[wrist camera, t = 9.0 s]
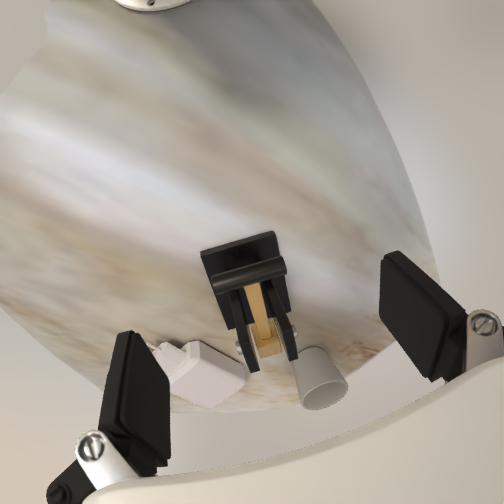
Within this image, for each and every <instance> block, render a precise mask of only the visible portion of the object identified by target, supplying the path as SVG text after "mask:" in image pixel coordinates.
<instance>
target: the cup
mask: <svg viewBox="0 0 504 504" xmlns="http://www.w3.org/2000/svg"><path fill="white" fill-rule="evenodd" d="M293 367H294V372H295V378H296V383H297V387H298V392H299V396H300V400H301V405H302V406H303V407H304V408H306V409H309V410H319V409H323V408H326V407H329V406H331V405H333V404H335V403H336V402H338V401H339V400H340V399H341V398H343V397H344V395H345V394H346V392H347V391H348V384H347V382H346V381H345V379H344V378H343V376H342V375H341V373H340V372H339V370H338V369H337V368H336V366H335V365H334V363H333V362H332V361H331V359H330V358H329V357H328V356H327V354H326V353H325V352H324V350H323V349H321V348H319V347H310V348H307V349H305V350H303V351H301V352H300V353H298V359H296V360H293Z"/></svg>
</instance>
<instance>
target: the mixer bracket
mask: <svg viewBox="0 0 504 504" xmlns="http://www.w3.org/2000/svg"><path fill="white" fill-rule="evenodd" d="M200 255H201V259H202V262H203V264H204V267H205V270H206V273H207V275H208V278H209V281H210V283H211V286H212V289H213V285H212V281H211V276H213V275H217V274H220V273H224V272H227V271H230V270H234V269H237V268H241V267H244V266H248V265H251V264H254V263H258V262H261V261H265V260H268V259H271V258H275V257H278V256H280V253H279V249H278V244H277V239H276V235H275V233H274V231H269V232H266V233H262V234H259V235H255V236H252V237H248V238H245V239H242V240H238V241H235V242H231V243H228V244H224V245H221V246H218V247H214V248H211V249H207V250H204V251H201V252H200ZM259 283H260V287H261V292H262V296H263V300H264V304H265V309H266V313H267V317H268V318H271V317H273V319H274V322H275V325H276V328H277V330H278V333H279V336H280V338H281V341H282V344H283V346H284V349H285V352H286V354H287V357H288V360H289V361H293V360H296V359H298V353H297V348H296V342H295V338H298V335H297V331H296V328H295V326H294V325H291V324H290V321H289V319H288V317H287V314H286V313H288V312H291V307H290V302H289V297H288V292H287V287H286V282H285V277H284V275H282V276H279V277H275V278H272V279H269V280H266V281H262V282H259ZM213 291H214V289H213ZM214 294H215V297H216V299H217V302H218V305H219V307H220V310H221V312H222V315H223V318H224V320H225V323H226V325H227V328H228V330H230V329H234V328H236V331H237V336H238V341H237V342H236V347H237V350H238V353H239V355H242V354H243V355H244V358H245V360H246V363H247V366H248V368H249V371H250V373H253V372H257V371H260V368H259V364H258V361H257V357H256V353H255V349H254V345H253V342H252V338H251V334H250V330H249V326H248V324H251V323H255V320H254V317H253V314H252V311H251V308H250V305H249V302H248V298H247V295H246V292H245V289H244V287H242V288H238V289H235V290H232V291H228V292H225V293H221V294H218V295H216V293H215V291H214Z"/></svg>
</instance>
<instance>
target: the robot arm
mask: <svg viewBox="0 0 504 504" xmlns="http://www.w3.org/2000/svg"><path fill="white" fill-rule="evenodd" d="M115 1H116V2H117V3H119V4H120V5H122V6H124V7H126V8H129V9H132V10H139V11H158V10H166V9H169V8H173V7H177V6H179V5H182V4H184V3H187V2H189V1H190V0H115ZM151 4H154V5H152V6H150V5H151ZM379 316H380V318H381V320H382V322H383V323H384V324H385V326H386V327H387V328H388V330H389V331H390V332H391V333H392V335H393V336H394V337H395V339H396V340H397V341H398V343H399V344H400V346H401V347H402V348H403V350H404V351H405V352H406V354H407V355H408V356H409V357H410V359H411V361H412V362H413V363H414V365H415V366H416V367H417V369H418V370H419V372H420V373H421V374H422V376H423V377H425V378H426V377H428V378H429V380H430V381H431V382H433V381H435V380H437V379H439V378H440V377H443V379H444V380H445V385H443V386H441V387H440V388H438V389H436V390H434V391H433V392H431V393H429V394H427V395H425V396H423V397H422V398H420V399H418V400H416V401H414V402H413V403H411V404H409V405H407V406H405V407H403V408H401V409H399V410H397V411H395V412H393V413H391V414H389V415H386V416H384V417H382V418H380V419H378V420H375V421H373V422H371V423H369V424H366V425H364V426H362V427H359V428H357V429H354V430H352V431H349V432H347V433H344V434H342V435H339V436H337V437H334V438H331V439H328V440H325V441H323V442H320V443H317V444H314V445H311V446H308V447H304V448H301V449H298V450H295V451H291V452H288V453H284V454H281V455H277V456H273V457H270V458H265V459H262V460H257V461H253V462H248V463H244V464H239V465H234V466H229V467H223V468H217V469H211V470H205V471H198V472H191V473H183V474H175V475H164V476H158V475H157V474H156V473H157V467H167V466H168V463H167V459H170V458H171V442H170V382H169V379H168V376H167V375H166V373H165V372H164V371H163V369H162V368H161V366H160V365H159V363H158V362H157V360H156V359H155V357H154V356H153V354H152V353H151V351H150V350H149V348H148V347H147V345H146V343H145V342H144V340H143V339H142V337H141V335H140V334H139V333H135V332H134V331H133V330H130V331H126V332H122V333H119V334H118V335H117V338H116V342H115V346H114V351H113V355H112V360H111V364H110V369H109V372H108V375H107V379H106V384H105V390H104V395H103V401H102V407H101V413H100V419H99V425H98V430H91V431H87V432H85V433H84V434H82V435H81V436H80V437H79V439H78V441H77V442H76V446H75V455H76V457H77V459H76V460H75V461H74V462H73V463H72V464H71V465H70V466H69V467H68V468H67V469H66V470H65V471H64V472H62V473H61V474H60V475H59V476H58V477H57V478H56V479H55V480H54V481H53V482H52V483H51V484H50V485H49V487H48V489H47V494H46V497H47V502H48V504H504V326H502V325H501V322H500V319H499V318H498V317H497V316H496V315H495V314H494V313H493V312H490V311H488V310H484V309H482V310H475V311H473V312H472V313H470V314H469V315H468V314H467V313H466V312H465V309H463V308H462V307H461V306H460V305H459V304H458V303H457V302H456V301H455V300H454V299H453V298H452V297H451V296H450V295H449V294H448V293H447V292H446V291H444V290H443V289H442V288H441V287H440V286H439V285H438V284H437V283H436V282H435V281H434V280H433V279H431V278H430V277H429V276H428V275H427V274H426V273H425V272H424V271H422V270H421V269H420V268H419V267H418V266H417V265H416V264H414V263H413V262H412V261H411V260H410V259H409V258H407V257H406V256H405V255H404V254H403V253H401V252H400V251H398V250H397V251H394V252H391V253H388V254H386V255H384V259H383V260H381V270H380V299H379Z"/></svg>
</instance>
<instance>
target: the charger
mask: <svg viewBox="0 0 504 504" xmlns="http://www.w3.org/2000/svg"><path fill="white" fill-rule="evenodd" d="M146 345H147V346H149V347H151V348H152V349H154V351H153V352H152V354H153V356H154V357H155V359H156V360H157V362H158V363H159V365H160V366H161V368H162V369H163V371H164V372H165V373H166V375H167V376H168V379H169V382H170V393H172V394H174V395H176V396H178V397H181V398H183V399H185V400H188V401H190V402H192V403H195V404H197V405H200V406H202V407H205V408H207V409H211V408H213V407H215V406H216V405H218V404H219V403H221V402H222V401H224V400H225V399H227V398H228V397H230V396H231V395H233V394H234V393H235V392H237V391H238V390H240V389H241V388H242V387H243V386H244V384H245V383H246V378H245V373H244V368H243V365H242V364H240V363H238V362H236V361H234V360H232V359H231V358H229V357H227V356H225V355H223V354H221V353H220V352H218V351H216V350H214V349H212V348H211V347H209V346H207V345H205V344H204V343H202V342H200V341H192V342H188V343H187V344H185V345H184V346H183V347H182V348H181V349H178V348H177V347H175V346H173V345H171V344H170V343H168V342H164V343H161V344H160V345H159V346H158V347H156V346H154V345H152V344H150V343H149V342H148V343H147V344H146Z"/></svg>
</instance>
